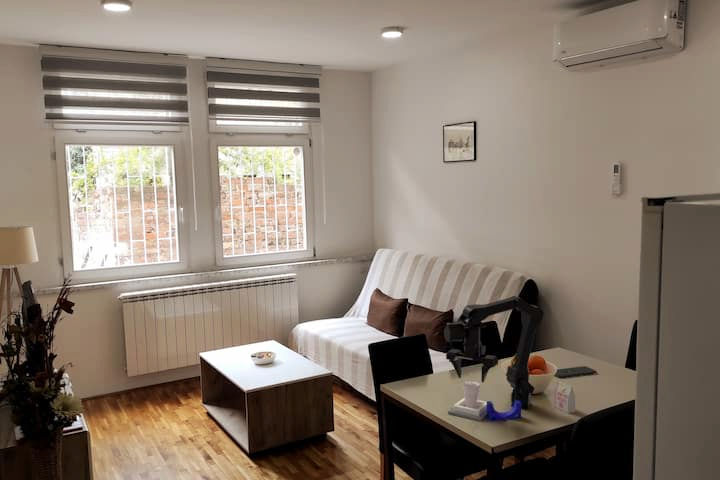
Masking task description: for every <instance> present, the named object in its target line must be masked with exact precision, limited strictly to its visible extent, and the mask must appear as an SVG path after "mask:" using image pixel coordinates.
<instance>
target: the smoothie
mask: <svg viewBox="0 0 720 480" xmlns="http://www.w3.org/2000/svg"><path fill="white" fill-rule="evenodd" d="M462 387H463V393H464V397H465V405H466V407H468V408H473V409H476V405H477V400H478V397H479V392H480V391H479V389H480V388H481V385H480V383H479V382H477V381H473V372H471V371H470V381H465V382H463V383H462Z"/></svg>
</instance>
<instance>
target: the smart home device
mask: <svg viewBox="0 0 720 480" xmlns="http://www.w3.org/2000/svg"><path fill="white" fill-rule="evenodd" d="M556 370H557V372H556V374H555V376H554V377H555V378H557V379H567V377H568V378H574V377H573V376H576V377H581V376H580V375H583V376H589V375H588V374H591V375H595V374H594V373H598V372H597V370H596V369H593V368H591V367H589V366H587V365H582V366H575V367H568V368H567V367H566V368H557V369H556Z"/></svg>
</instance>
